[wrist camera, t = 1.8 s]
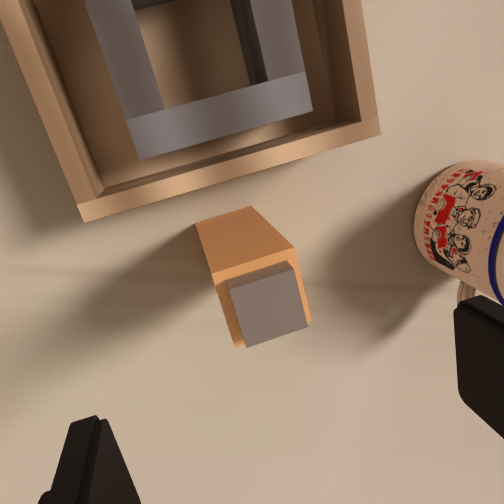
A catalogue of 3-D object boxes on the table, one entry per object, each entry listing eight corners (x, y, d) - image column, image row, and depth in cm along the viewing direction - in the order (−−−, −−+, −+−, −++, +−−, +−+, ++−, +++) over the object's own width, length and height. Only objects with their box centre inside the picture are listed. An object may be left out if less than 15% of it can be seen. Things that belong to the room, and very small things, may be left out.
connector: (251, 206, 29) (302, 254, 18) (265, 258, 30) (320, 332, 20) (194, 223, 28) (214, 283, 18) (211, 275, 30) (238, 360, 19)
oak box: (301, -116, 24) (339, -180, 19) (345, 132, 29) (385, 134, 24) (-3, -48, 22) (-53, -100, 17) (97, 204, 27) (82, 225, 22)
